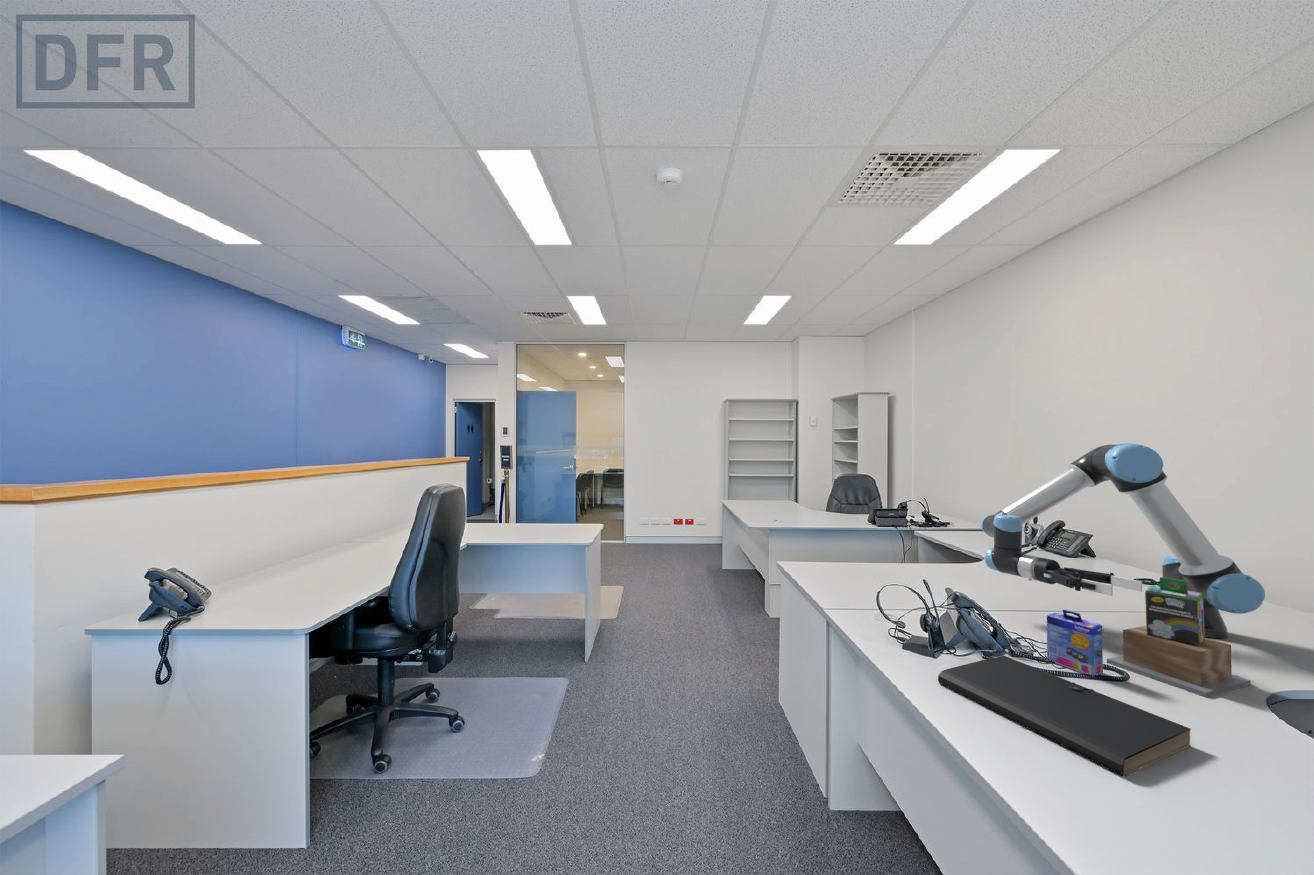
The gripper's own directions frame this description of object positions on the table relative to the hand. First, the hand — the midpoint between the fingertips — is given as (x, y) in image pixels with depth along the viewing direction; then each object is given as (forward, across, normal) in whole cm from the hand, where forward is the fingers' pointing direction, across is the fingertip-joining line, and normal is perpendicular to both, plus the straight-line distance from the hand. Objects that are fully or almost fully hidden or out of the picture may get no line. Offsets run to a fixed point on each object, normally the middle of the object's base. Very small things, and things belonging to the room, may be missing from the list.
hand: (1127, 588), depth 126 cm
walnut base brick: (+9, 0, -18) cm, 21 cm away
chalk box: (+9, 0, -10) cm, 13 cm away
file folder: (+11, +52, -19) cm, 56 cm away
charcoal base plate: (+9, 0, -18) cm, 21 cm away
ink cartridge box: (-1, +22, -19) cm, 29 cm away
